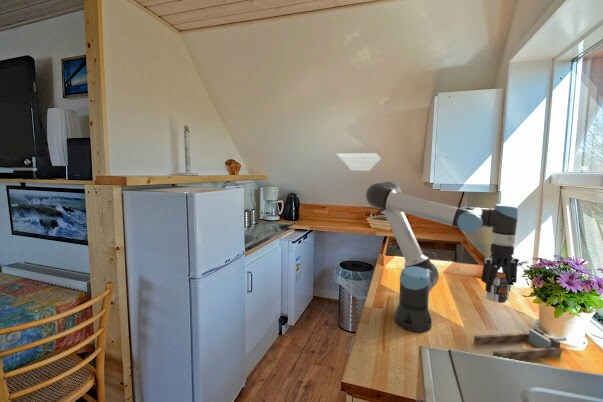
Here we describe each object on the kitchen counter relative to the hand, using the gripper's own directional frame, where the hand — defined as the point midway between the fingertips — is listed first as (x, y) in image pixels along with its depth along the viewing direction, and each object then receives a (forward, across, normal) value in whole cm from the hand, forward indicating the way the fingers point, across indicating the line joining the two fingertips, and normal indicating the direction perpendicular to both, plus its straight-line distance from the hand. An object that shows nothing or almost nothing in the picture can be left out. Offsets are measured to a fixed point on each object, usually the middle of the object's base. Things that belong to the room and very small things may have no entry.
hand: (496, 299), depth 113 cm
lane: (+14, -1, -11) cm, 18 cm away
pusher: (+14, +14, -11) cm, 23 cm away
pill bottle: (0, 0, 0) cm, 0 cm away
